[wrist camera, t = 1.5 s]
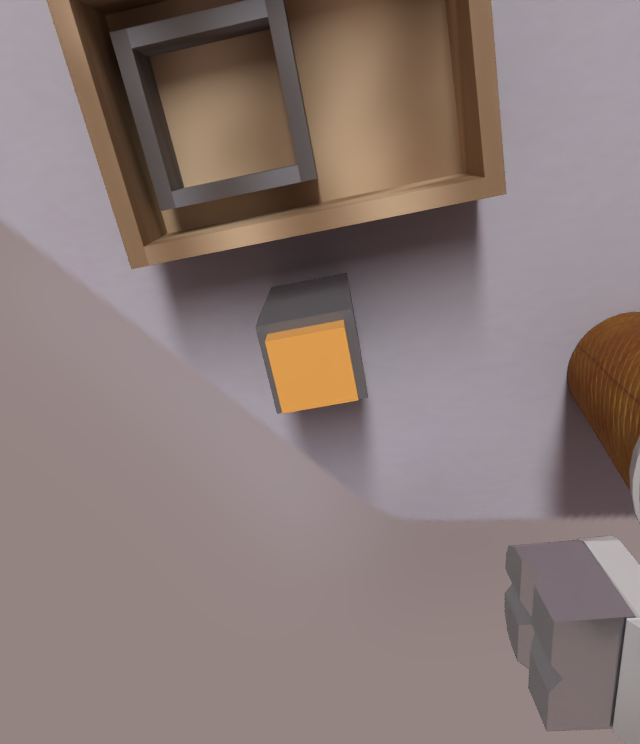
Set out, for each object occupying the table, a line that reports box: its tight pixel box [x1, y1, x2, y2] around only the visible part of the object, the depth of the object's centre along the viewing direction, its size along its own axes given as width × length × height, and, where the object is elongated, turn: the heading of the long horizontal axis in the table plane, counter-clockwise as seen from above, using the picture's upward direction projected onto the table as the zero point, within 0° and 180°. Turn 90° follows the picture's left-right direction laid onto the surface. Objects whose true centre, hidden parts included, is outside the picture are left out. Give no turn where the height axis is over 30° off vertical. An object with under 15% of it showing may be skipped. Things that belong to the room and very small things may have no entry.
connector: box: [256, 273, 368, 414], centre depth 27 cm, size 4×4×8 cm
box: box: [47, 0, 506, 269], centre depth 25 cm, size 16×11×5 cm
